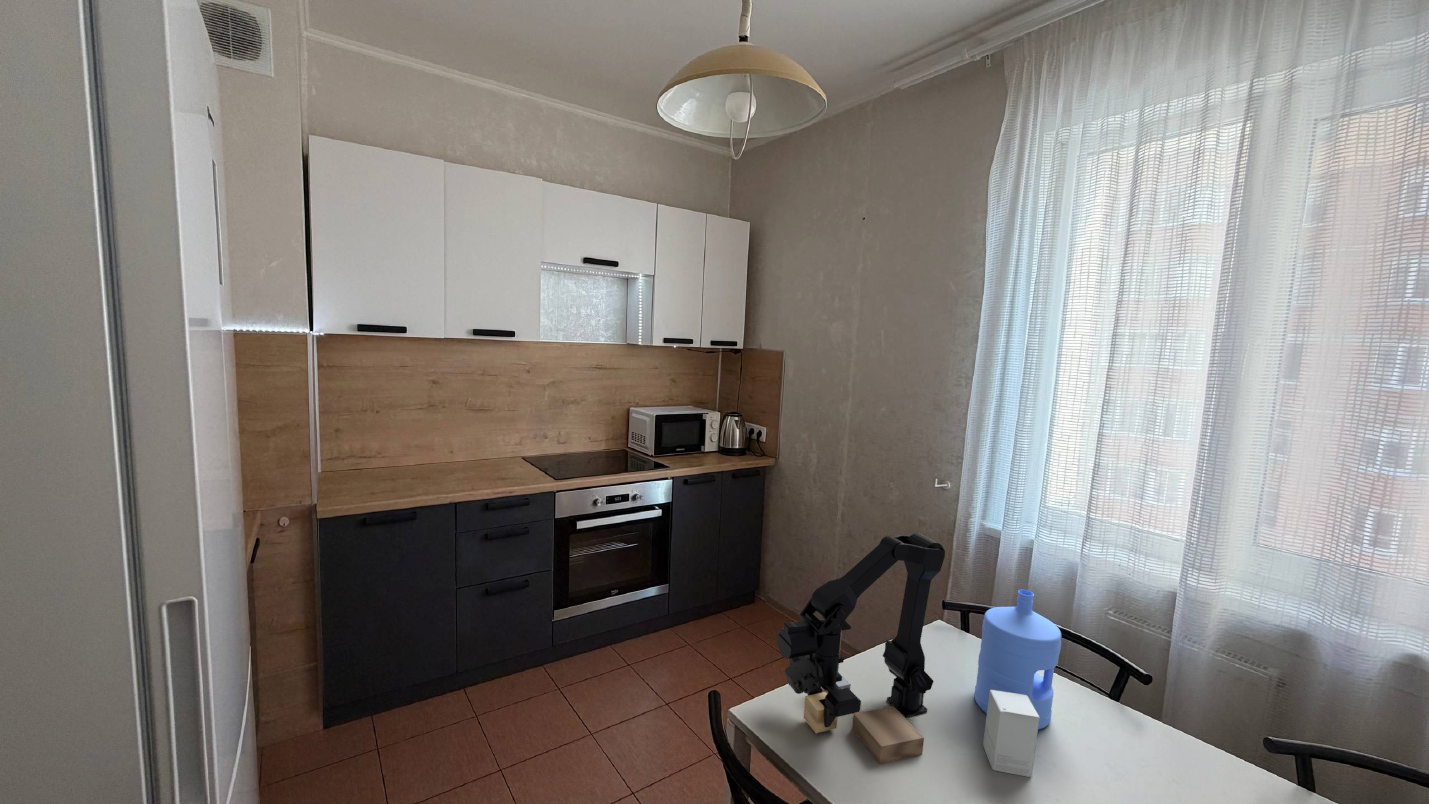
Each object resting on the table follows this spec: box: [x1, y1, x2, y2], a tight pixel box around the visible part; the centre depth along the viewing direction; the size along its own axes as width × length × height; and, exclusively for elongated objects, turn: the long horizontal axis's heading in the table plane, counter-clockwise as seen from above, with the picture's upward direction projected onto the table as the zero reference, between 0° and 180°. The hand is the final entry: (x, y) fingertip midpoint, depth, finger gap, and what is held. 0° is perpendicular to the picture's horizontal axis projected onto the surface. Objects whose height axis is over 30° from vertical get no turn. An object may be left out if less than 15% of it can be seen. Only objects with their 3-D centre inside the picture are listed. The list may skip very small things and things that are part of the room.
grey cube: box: [822, 671, 851, 694], centre depth 131 cm, size 5×5×5 cm
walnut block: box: [851, 705, 925, 764], centre depth 118 cm, size 10×10×4 cm
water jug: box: [973, 589, 1062, 730], centre depth 130 cm, size 16×16×28 cm
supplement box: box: [982, 690, 1040, 778], centre depth 114 cm, size 7×7×13 cm
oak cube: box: [803, 692, 838, 734], centre depth 121 cm, size 5×5×5 cm
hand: (820, 718), depth 121 cm, fingers closed on oak cube, 5 cm apart
